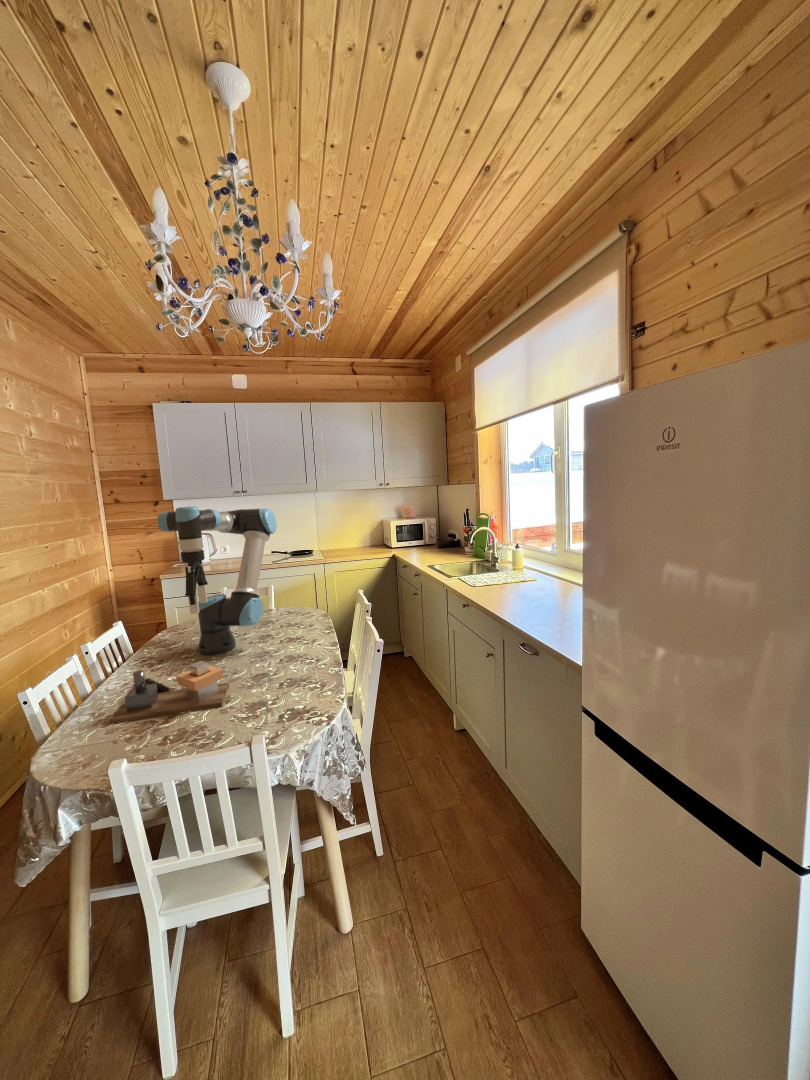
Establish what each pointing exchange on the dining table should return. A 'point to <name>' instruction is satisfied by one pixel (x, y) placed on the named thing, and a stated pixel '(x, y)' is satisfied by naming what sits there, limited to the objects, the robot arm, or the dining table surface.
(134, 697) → the stand
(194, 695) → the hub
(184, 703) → the board
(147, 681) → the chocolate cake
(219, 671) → the collar
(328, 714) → the dining table surface
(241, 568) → the robot arm
